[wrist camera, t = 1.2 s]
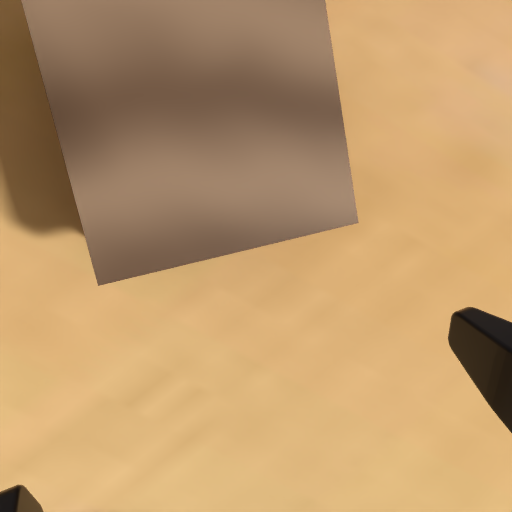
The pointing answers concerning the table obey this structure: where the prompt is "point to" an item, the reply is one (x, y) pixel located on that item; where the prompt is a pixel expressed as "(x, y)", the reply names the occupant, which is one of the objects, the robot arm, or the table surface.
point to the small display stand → (194, 125)
